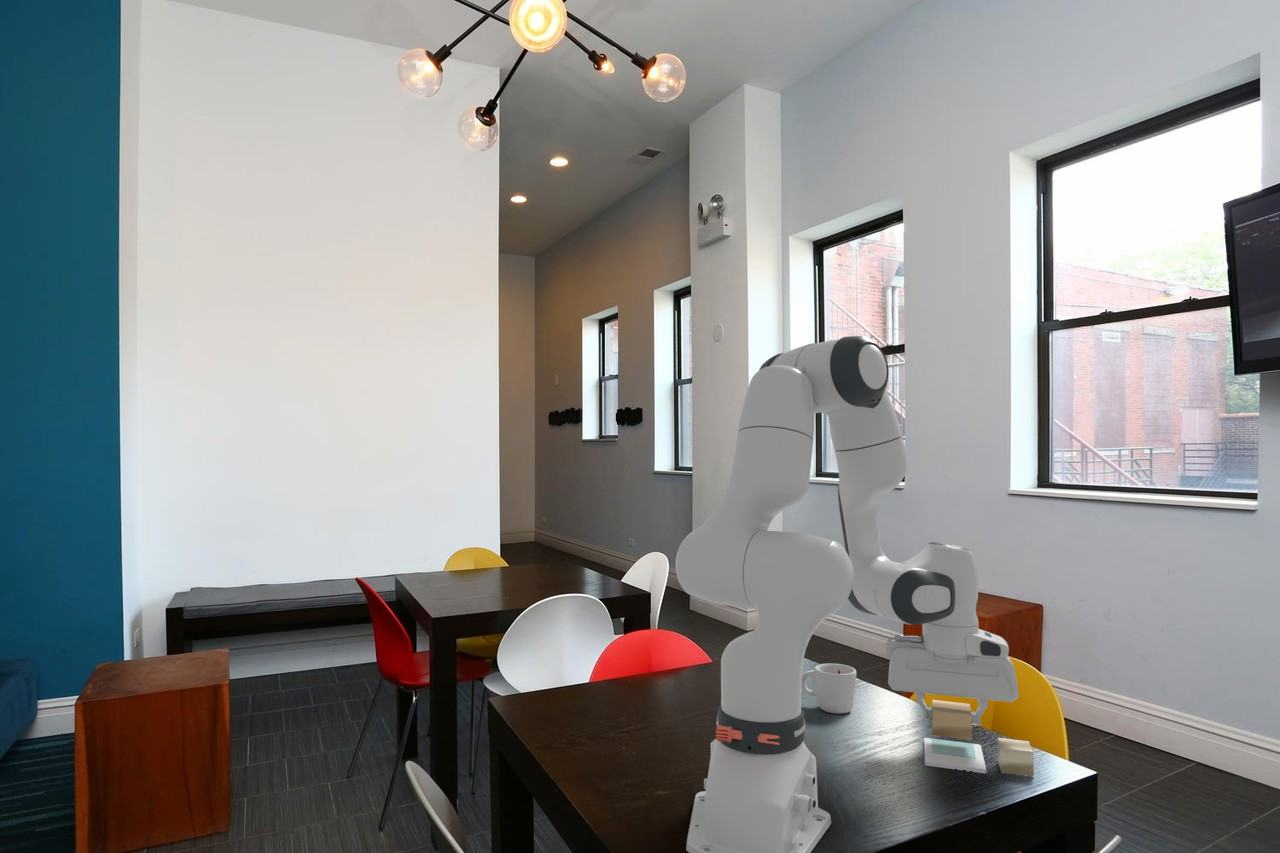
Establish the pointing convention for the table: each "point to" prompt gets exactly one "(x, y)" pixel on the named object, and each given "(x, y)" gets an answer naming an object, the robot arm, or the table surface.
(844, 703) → the cup
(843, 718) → the table surface
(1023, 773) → the maple block
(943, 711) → the oak block
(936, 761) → the plate
